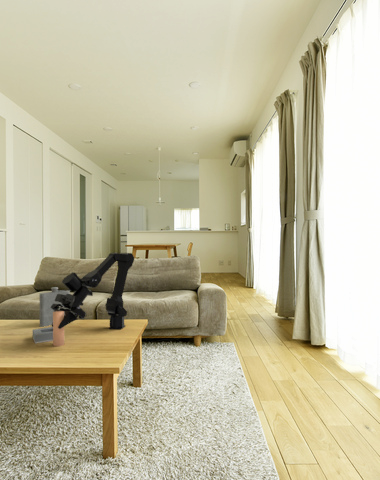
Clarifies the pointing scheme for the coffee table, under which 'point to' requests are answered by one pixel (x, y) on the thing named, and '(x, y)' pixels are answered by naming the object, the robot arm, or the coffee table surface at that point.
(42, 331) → the socket block
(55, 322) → the pin
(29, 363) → the coffee table surface
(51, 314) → the hip flask
